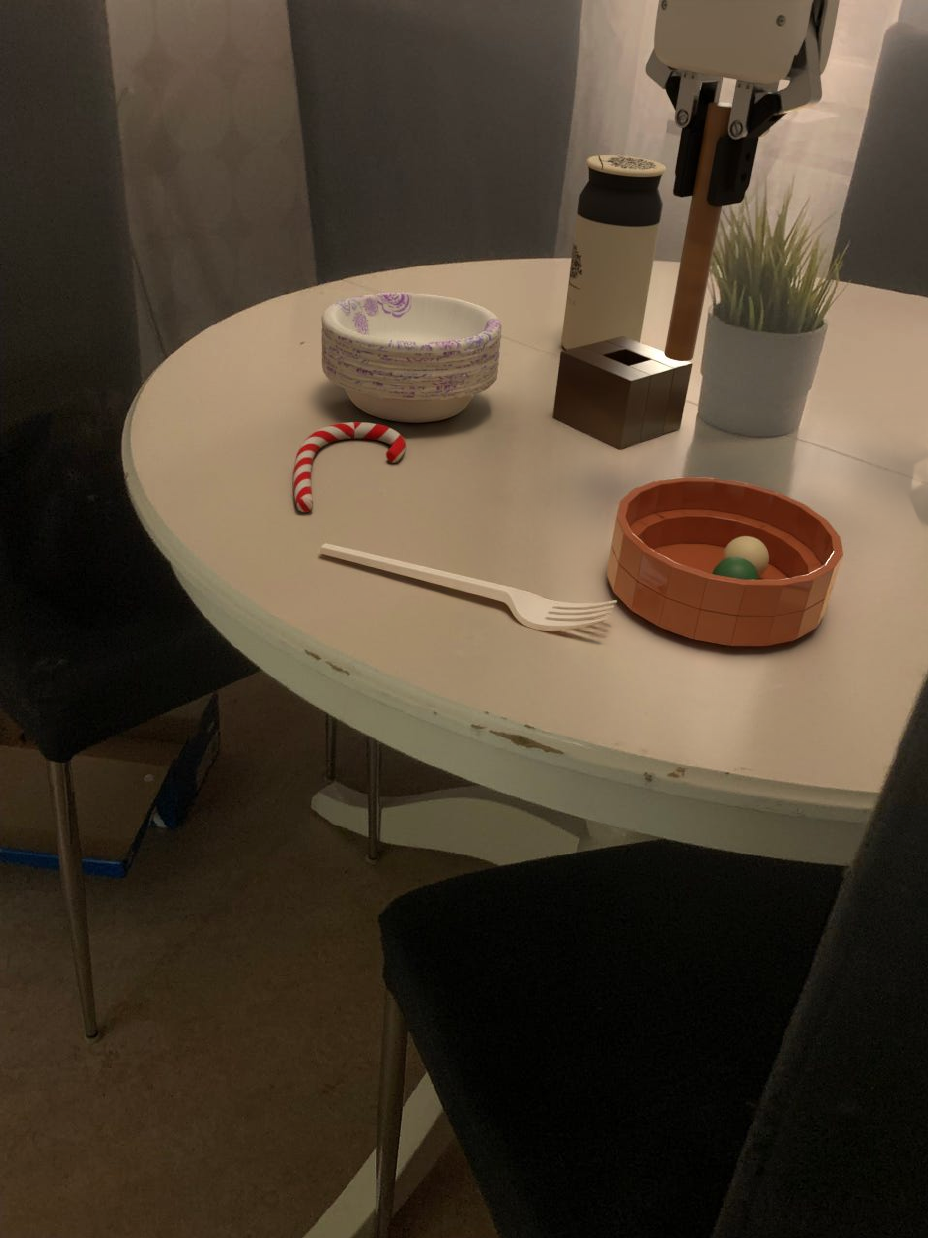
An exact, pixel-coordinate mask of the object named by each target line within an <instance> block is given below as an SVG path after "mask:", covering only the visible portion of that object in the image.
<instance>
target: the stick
mask: <svg viewBox="0 0 928 1238" xmlns="http://www.w3.org/2000/svg"><path fill="white" fill-rule="evenodd" d="M731 107H732V102H723V101H719V102H711V103H709V104H708V110H707V115H706V121H705V127H704V132H703V138H702V144H701V149H700V155H699V160H698V166H697V172H696V177H695V183H694V189H693V194H692V196H691V201H690V206H689V212H688V218H687V223H686V229H685V234H684V240H683V246H682V251H681V258H680V262H679V268H678V274H677V279H676V286H675V291H674V296H673V303H672V308H671V313H670V319H669V324H668V331H667V336H666V342H665V347H664V351H663V352H664V354H665V356H666V357H667V358H669V359H672V360H676V361H688V362H690V361H692V360H693V359H694V356H695V349H696V345H697V339H698V335H699V329H700V324H701V319H702V315H703V314H702V313H703V308H704V303H705V297H706V293H707V287H708V282H709V279H710V278H709V277H710V272H711V268H712V267H711V266H712V261H713V256H714V251H715V246H716V242H717V241H716V240H717V235H718V231H719V225H720V221H721V220H720V219H721V215H722V209H723V206H720V207H715V206H711V205H709V204H708V202H707V195H708V189H709V184H710V178H711V173H712V167H713V162H714V156H715V151H716V145H717V142H718V140H719V137H726V136H727V135H728V124H729V118H730V113H731Z"/></svg>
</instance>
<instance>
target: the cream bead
mask: <svg viewBox="0 0 928 1238" xmlns="http://www.w3.org/2000/svg"><path fill="white" fill-rule="evenodd" d="M730 557H741V558H744V559H746V560H748V561H749V562H751V563H752V564H753V565H754V566H755V568H756V569H757V572H758V575H759V577H760V576H761V575H762V574H763V573H764V572H765V570H766V569H767V566H768V563H769V554H768V551H767V548H766V547H765V545H764V544H763V543H762V542H761V541H760V540H758V539H756V538H754V537H750V536H742V537H738V538H735V539H734V540H732V541H731V542H730V543H729V544H728V545H727V546H726V548H725V549H724V552H723V556H722V560H724V559H727V558H730Z"/></svg>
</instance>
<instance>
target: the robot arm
mask: <svg viewBox="0 0 928 1238" xmlns="http://www.w3.org/2000/svg"><path fill="white" fill-rule="evenodd" d="M840 2H841V0H658V4H657V11H656V18H655V27H654V37H653V49H652V51H651V53H650V55H649V57H648V60H647V62H646V64H645V74H646V75H647V77H648V78H649V79H651V80H652V81H653V82H654V83H655V84H657V85H658V86H659V87H660V88H661V89H663V90H665V92H666V95H667V97H668V99H669V101H670V103H671V105H672V107H673V109H674V112H675V113H674V121H675V124H676V126H677V127H678V128H680V129H681V132H680V139H679V145H678V151H677V156H676V162H675V168H674V169H675V170H674V183H673V189H672V194H673V196H675V197H677V198H688V197H689V198H690V197H692V194H693V189H694V183H695V177H696V172H697V166H698V160H699V155H700V149H701V144H702V138H703V132H704V127H705V121H706V115H707V110H708V104H709V103H711V102H720V98H721V93H722V88H723V82H724V78H725V79H730V80H735V87H734V92H733V96H732V97H733V98H732V101H731V103H732V107H731V113H730V118H729V124H728V135H727V136H726V137H719V140H718V142H717V145H716V151H715V156H714V162H713V167H712V173H711V178H710V184H709V189H708V195H707V202H708V204H709V205H711V206H715V207H720V206H722V207H726V206H730V205H737V204H741V203H742V202H743V201H744V199H745V196H746V192H747V190H748V189H749V187H750V183H751V179H752V173H753V169H754V164H755V158H756V153H757V149H758V145H759V138H763V137H765V136H767V135H768V133H769V132H770V129H771V127H773V126H774V125H775V124H776V123H777V122H779V121H780V120H781V119H782V118H783V117H785V116H786V115H787V114H788V113H792V112H795V111H799V110H802V109H806V108H808V107H812V106H815V105H817V104H819V103H820V101H821V100H822V98H823V87H822V78H821V77H822V75H823V73H824V72H825V70H826V67H827V65H828V61H829V58H830V54H831V49H832V45H833V42H834V41H833V40H834V35H835V31H836V25H837V20H838V19H837V18H838V14H839V7H840ZM780 81H789V83H788V85H786V87H785V88H782V89H780V90H779V85H780Z"/></svg>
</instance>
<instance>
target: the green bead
mask: <svg viewBox="0 0 928 1238" xmlns="http://www.w3.org/2000/svg"><path fill="white" fill-rule="evenodd" d="M712 574H713V575H719V576H725V577H730V578H736V579H742V580H759V575H758V572H757V569H756V568H755V566H754V565H753V564H752V563H751V562H749V561H748V560H746V559H744V558H741V557H730V558H727V559H724V560H722V561H721V562H720V563H719V564H717V566H716V567H715V568H714V570H713V572H712Z"/></svg>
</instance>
